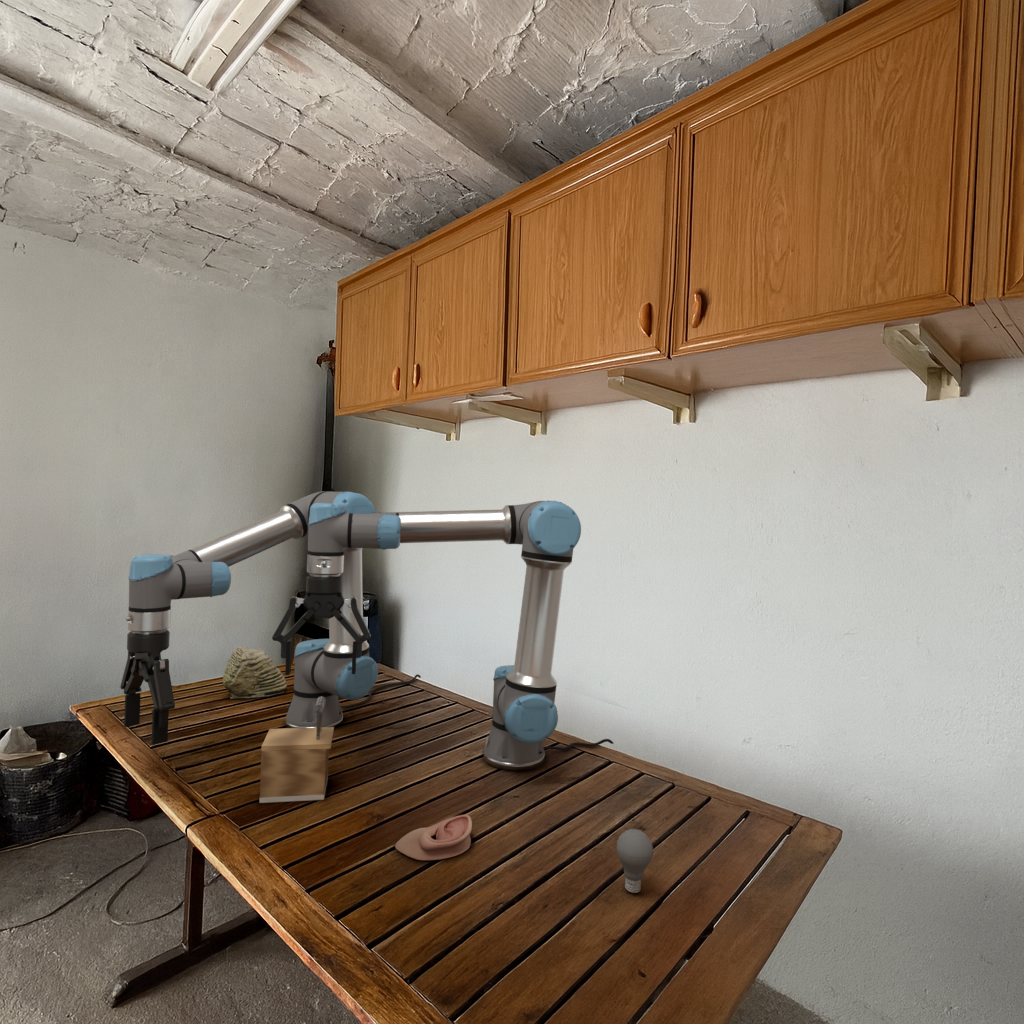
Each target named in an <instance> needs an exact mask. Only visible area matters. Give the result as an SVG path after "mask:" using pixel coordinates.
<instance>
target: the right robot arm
mask: <svg viewBox="0 0 1024 1024" xmlns="http://www.w3.org/2000/svg"><path fill="white" fill-rule="evenodd" d="M581 535H582V525H581V520H580V518H579V516H578V514H577V513H576V512H575V510H574V508H572V507H571V506H569V505H567V504H566V503H564V502H562V501H558V500H537V501H532V502H527V503H522V504H512V505H510V504H509V505H508V504H507V505H504V507H503V508H502V509H471V510H470V509H469V510H465V509H464V510H428V511H427V510H426V511H397V512H396V511H388V512H387V511H385V512H384V511H383V512H382V511H376V512H372V513H370V514H353V513H346V507H345V505H344V504H332V503H314V504H313V505H312V506H311V507H310V515H309V523H308V536H307V559H306V573H307V574H309V575H307V576H306V581H305V582H306V585H305V596H304V597H298V596H297V595H292V596H291V598H290V600H289V605H288V609H287V610H286V612H285V614H284V615H283V617H282V619H281V621H280V623H279V624H278V626H277V628H276V629H275V632H274V633H273V635H272V637H271V639H272V641H273V642H278V643H280V658H281V659H285V674H284V675H285V676H289V675H291V673H292V654H293V653H292V652H293V641H292V640H291V639H292V637H294V635H295V634H296V633H297V632H298V631H299V630H300V629H301V628H302V627H303V626H304V624H305V623H306V622H308V621H309V620H310V618H311V617H313V618H314V619H316V620H317V619H322V618H323V619H326V620H327V619H328V620H329V619H331V618H332V617H334V616H335V618H336V619H337V620H338V621H339V622H340V623H341V624H342V625H343V627H344V628H345V629H346V630H347V631H348V633H349V634H350V635H351V636H352V637H353V639H354V640H355V641H353V653H352V674H355V672H356V658H361V656H362V643H363V642H364V641H366V642H367V641H370V640H371V637H372V634H371V632H370V630H369V628H368V626H367V623H366V622H365V619H364V616H363V617H362V615H361V613H360V611H359V609H358V607H357V598H356V597H352V598H345V599H344V598H343V595H342V590H343V577H342V576H341V575H340V574H342V573H343V565H344V548H363V549H371V550H373V549H374V550H376V549H377V550H383V551H385V550H397V549H399V547H400V546H401V544H417V543H418V544H420V543H421V544H422V543H423V544H424V543H426V544H427V543H456V542H459V543H461V542H462V543H463V542H491V541H492V542H493V541H494V542H495V541H503V542H504V544H506V545H520V546H521V554H520V558H521V559H522V561H523V562H524V563H525V565H526V567H525V576H524V583H523V585H524V586H523V592H522V600H521V606H520V607H521V608H520V616H519V623H518V633H517V640H516V649H515V657H514V664H507V665H500V666H497V667H496V668H495V669H494V676H493V694H492V695H493V700H492V716H491V717H492V719H491V728H490V731H489V733H488V735H487V736H486V738H485V745H484V748H483V756H482V757H483V760H484V762H486V764H488V765H490V766H491V767H494V768H496V769H500V770H505V771H511V772H512V771H513V772H519V771H520V772H521V771H530V770H533V769H536V768H538V767H540V766H542V765H544V763H545V760H546V759H545V758H546V757H545V756H546V752H545V750H556V751H566V750H569V749H571V748H572V747H574V746H580V747H588V748H591V747H592V748H593V747H597V746H599V745H601V744H603V743H607V742H608V743H609V744H611V745H613V744H614V742H613V741H612V740H611V739H610V738H604V739H601V740H599V741H597V742H594V743H593V742H592V743H587V742H585V743H584V742H577V741H576V742H571V743H570V744H568V745H566V746H544V744H543V742H544V741H546V739H548V738H549V737H551V735H552V734H554V732H555V730H556V728H557V726H558V723H559V713H558V708H557V706H556V704H555V701H556V692H557V687H558V681H557V679H556V678H555V677H554V675H553V674H552V671H553V663H554V654H555V646H556V638H557V630H558V623H559V615H560V614H559V613H560V607H561V597H562V589H563V581H564V573H565V572H564V571H565V570H566V568H568V567H569V566H570V565H571V564H572V563H573V555H574V548H576V546H577V545H578V543H579V541H580V538H581ZM302 604H303V606H304V607H305V608H306V610H307V611H306V612H305V613H304V614H303V615H302V616H301V617H300V618H299V619H298V621H296V622H295V624H293V626H292V627H291V628H290V629H289V630H288V631H287V632H286V634H283V632H284V630H285V628H286V626H287V625H288V623H289V621H290V619H291V617H292V616H293V614H294V612H295V611H296V609H297V608H299V607H300V606H301V605H302ZM344 604H347V606H348V608H351V609H352V612H353V614H354V616H355V619H356V621H357V623H358V625H359V627H360V629H361V631H362V633H363V635H360V634H359V633H358V632H357V630H356V629H355V628H354V627H353V626H352V624H351V623H350V622H349V621H348V620H347V618H346V617H345V616H344V614H343V613H342V612H341V611H340V609H341V607H342V606H343V605H344ZM289 640H291V641H289Z"/></svg>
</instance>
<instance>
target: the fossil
mask: <svg viewBox="0 0 1024 1024" xmlns="http://www.w3.org/2000/svg"><path fill="white" fill-rule="evenodd" d="M222 676H223V677H222V685H223V687H224V688H225V690H226V691H228V693H229V698H230V699H250V698H264V697H271V696H275V695H281V694H284V693H285V691H286V689H287V687H288V686H287V680H286V678H285V676H284V674H283V673H282V672H281V669H279V668H278V667H277V665H276V663H275V662H274V660H273V659H272V658H271V657H270V656H269V655H268V654H267V653H266V652H265V650H264V649H263V648H260V647H258V648H251V647H247V646H246V647H245V646H238V647H237V648H236V649H235V650H233V651H232V653H231V656H230V657H229V659H228V660H227V663H226V666H225V668H224V671H223V675H222Z"/></svg>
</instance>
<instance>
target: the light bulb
mask: <svg viewBox="0 0 1024 1024" xmlns="http://www.w3.org/2000/svg"><path fill="white" fill-rule="evenodd" d="M615 849H616V854H617V857H618V859H619V861H620V863H621V865H622V867H623V873H624V874H623V875H624V876H625V878H624V888H625V890H627V891H628V892H630V893H634V894H635V893H639V892H640V891H641V889H642V887H641V886H642V879H643V877H644V875H645V871H646V868H647V867H648V866H649V864H650V863H651V861H652V859H653V855H654V847H653V843H652V841H651V838H649V836H648V835H647V834H646V833H645V832H643V831H642V830H641V829H636V828H629V829H627V830H625V831H623V832H622V833H621V834H620V835H619V837H618V839H617V841H616V847H615Z"/></svg>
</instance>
